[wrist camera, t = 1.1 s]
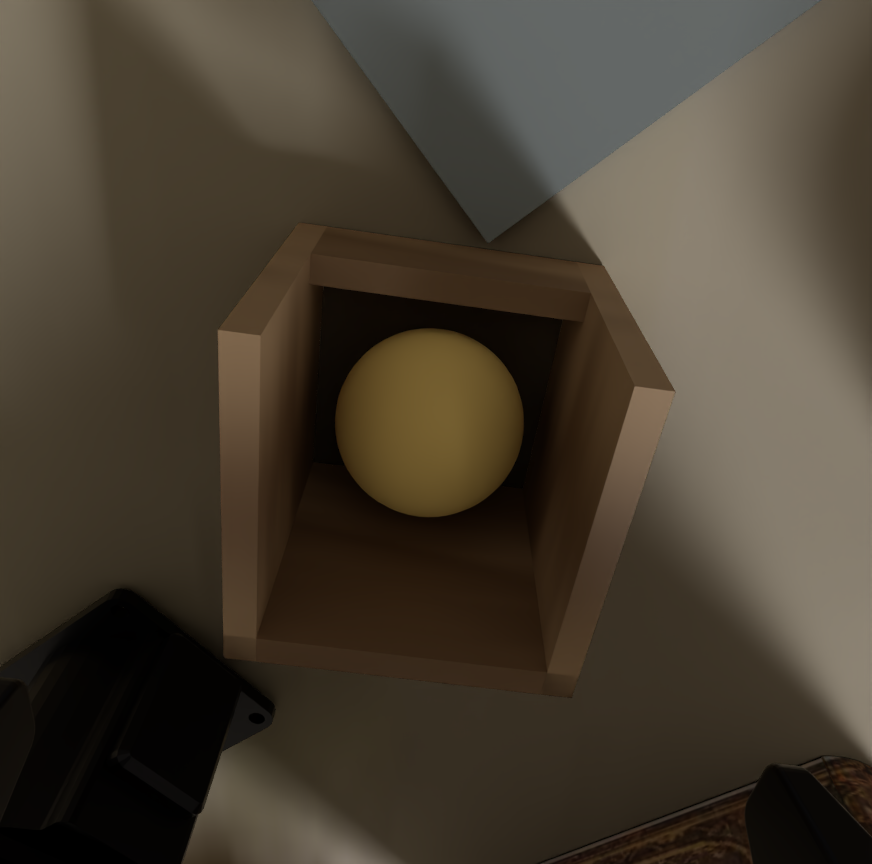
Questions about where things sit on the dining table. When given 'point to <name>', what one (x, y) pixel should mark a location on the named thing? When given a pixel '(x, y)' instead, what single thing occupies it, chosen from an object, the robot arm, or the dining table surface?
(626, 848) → the book
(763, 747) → the dining table surface
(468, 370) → the ball
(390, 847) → the dining table surface
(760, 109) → the dining table surface
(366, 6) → the tray mat
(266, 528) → the box
